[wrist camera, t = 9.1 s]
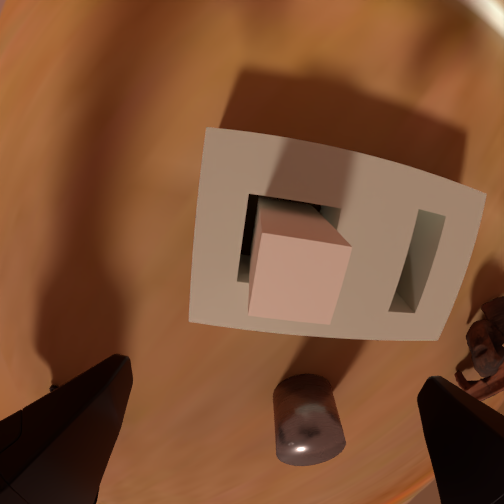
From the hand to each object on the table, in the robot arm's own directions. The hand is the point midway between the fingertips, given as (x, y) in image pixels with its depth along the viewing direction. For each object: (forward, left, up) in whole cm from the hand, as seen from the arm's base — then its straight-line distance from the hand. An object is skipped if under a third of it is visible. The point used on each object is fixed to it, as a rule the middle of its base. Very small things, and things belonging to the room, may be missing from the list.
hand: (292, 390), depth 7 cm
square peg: (0, +2, -12) cm, 12 cm away
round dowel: (+5, -12, -12) cm, 18 cm away
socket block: (+4, +2, -12) cm, 12 cm away
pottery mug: (+22, -6, -12) cm, 26 cm away
